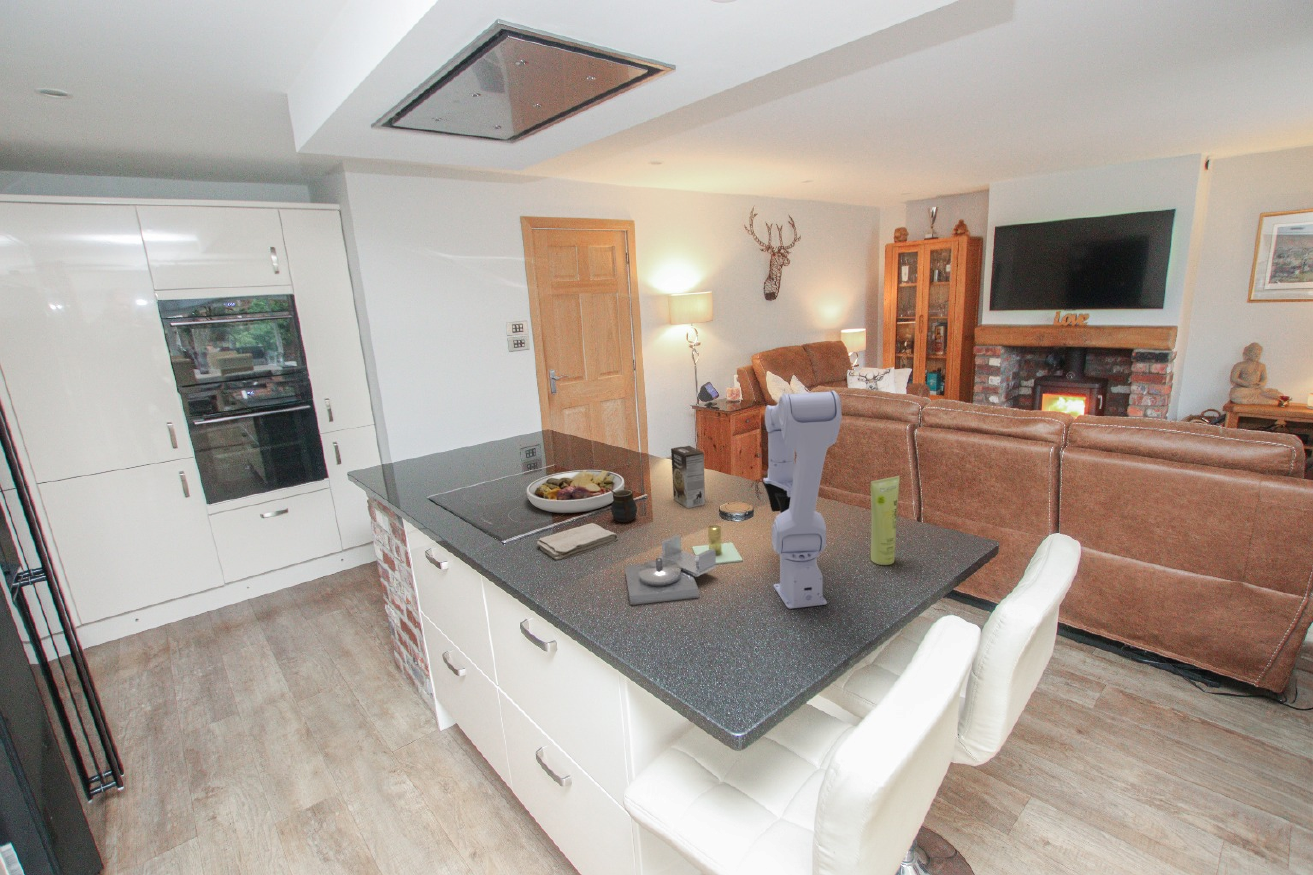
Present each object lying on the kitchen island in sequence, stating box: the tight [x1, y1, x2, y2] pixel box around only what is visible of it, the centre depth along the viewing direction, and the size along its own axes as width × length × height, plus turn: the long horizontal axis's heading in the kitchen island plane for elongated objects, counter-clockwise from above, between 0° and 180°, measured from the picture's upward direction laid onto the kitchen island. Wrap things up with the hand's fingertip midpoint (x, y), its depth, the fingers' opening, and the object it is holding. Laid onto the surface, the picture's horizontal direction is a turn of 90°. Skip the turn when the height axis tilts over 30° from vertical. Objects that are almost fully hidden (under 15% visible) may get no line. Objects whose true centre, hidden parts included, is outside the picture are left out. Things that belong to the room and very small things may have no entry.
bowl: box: [526, 469, 625, 514], centre depth 185 cm, size 30×30×8 cm
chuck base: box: [624, 563, 700, 606], centre depth 128 cm, size 14×14×2 cm
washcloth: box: [536, 522, 619, 561], centre depth 152 cm, size 12×18×3 cm, turn 128°
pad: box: [691, 542, 744, 565], centre depth 142 cm, size 10×10×1 cm
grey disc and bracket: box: [638, 534, 718, 586], centre depth 129 cm, size 16×12×4 cm
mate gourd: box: [608, 488, 638, 523], centre depth 165 cm, size 7×8×10 cm
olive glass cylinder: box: [707, 524, 722, 556], centre depth 141 cm, size 3×3×6 cm
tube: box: [870, 475, 901, 566], centre depth 131 cm, size 6×5×20 cm
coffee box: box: [670, 445, 706, 509], centre depth 175 cm, size 9×6×16 cm
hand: (781, 516), depth 135 cm, fingers open, 7 cm apart
